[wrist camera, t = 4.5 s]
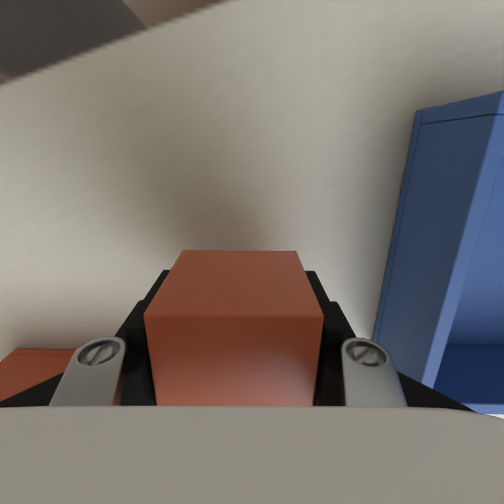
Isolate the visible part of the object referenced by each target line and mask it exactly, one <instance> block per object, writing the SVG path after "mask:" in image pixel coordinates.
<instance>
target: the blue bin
mask: <svg viewBox="0 0 504 504" xmlns="http://www.w3.org/2000/svg"><path fill="white" fill-rule="evenodd" d="M373 341H375V342H377V343H379V344H381V345H382V346H384V347H385V348H386V349H387V350H388V351H389V352H390V354H391V356H392V358H393V362H394V365H395V368H396V371H398V372H400V373H402V374H404V375H406V376H408V377H410V378H412V379H414V380H416V381H418V382H420V383H422V384H424V385H426V386H428V387H430V388H432V389H434V390H436V391H438V392H440V393H441V394H443V395H445V396H447V397H449V398H451V399H453V400H455V401H457V402H459V403H461V404H463V405H465V406H467V407H469V408H470V409H472V410H474V411H475V412H477V413H480V414H504V91H499V92H495V93H491V94H486V95H482V96H478V97H473V98H469V99H465V100H461V101H456V102H452V103H448V104H443V105H439V106H435V107H430V108H426V109H422V110H418V111H416V115H415V121H414V126H413V131H412V136H411V141H410V147H409V152H408V157H407V162H406V168H405V173H404V178H403V183H402V188H401V194H400V199H399V204H398V209H397V214H396V220H395V225H394V230H393V235H392V241H391V246H390V251H389V256H388V261H387V267H386V272H385V277H384V282H383V287H382V293H381V298H380V303H379V308H378V313H377V319H376V324H375V329H374V334H373Z"/></svg>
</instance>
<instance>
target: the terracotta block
mask: <svg viewBox="0 0 504 504" xmlns="http://www.w3.org/2000/svg"><path fill="white" fill-rule="evenodd" d="M323 320H324V315H323V313H322V310H321V308H320V306H319V303H318V301H317V299H316V296H315V294H314V292H313V289H312V287H311V285H310V282H309V280H308V278H307V275H306V273H305V271H304V268H303V266H302V264H301V261H300V259H299V257H298V254H297V252H296V251H225V250H183V251H182V252H181V254H180V256H179V257H178V259H177V261H176V262H175V264H174V265H173V267H172V269H171V270H170V272H169V274H168V275H167V277H166V279H165V280H164V282H163V283H162V285H161V287H160V288H159V290H158V292H157V293H156V295H155V296H154V298H153V300H152V301H151V303H150V305H149V306H148V308H147V310H146V311H145V313H144V322H145V329H146V336H147V342H148V349H149V356H150V363H151V369H152V376H153V383H154V390H155V397H156V403H157V406H313V401H314V393H315V385H316V377H317V368H318V360H319V352H320V344H321V336H322V328H323Z"/></svg>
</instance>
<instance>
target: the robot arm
mask: <svg viewBox="0 0 504 504" xmlns="http://www.w3.org/2000/svg"><path fill="white" fill-rule="evenodd" d="M169 272H170V270H163V271H162V273H161V274H160V276H159V277H158V279H157V280H156V282H155V283H154V285H153V286H152V288H151V289H150V291H149V292H148V294H147V295H146V297H145V298H144V300H140V301H139V302H138V303H137V304H136V306H135V307H134V309H133V310H132V311H131V313H130V314H129V316H128V317H127V319H126V320H125V322H124V323H123V324H122V326H121V327H120V329H119V330H118V332H117V333H116V335H115V336H114V337H113V336H108V337H101V338H97V339H94V340H91V341H89V342H87V343H85V344H84V345H82V346H81V347H80V348H78V349H77V350H76V351H75V353H74V354H73V355H72V357H71V359H70V362H69V364H68V366H67V368H66V370H65V372H62V373H60V374H58V375H56V376H54V377H52V378H49V379H47V380H45V381H43V382H41V383H39V384H37V385H34V386H32V387H30V388H28V389H26V390H24V391H22V392H19V393H17V394H15V395H13V396H11V397H9V398H7V399H4V400H2V401H0V504H504V419H502V418H499V417H495V416H490V415H485V414H480V413H477V412H475V411H474V410H472V409H470V408H469V407H467V406H465V405H463V404H461V403H459V402H457V401H455V400H453V399H451V398H449V397H447V396H445V395H443V394H441V393H440V392H438V391H436V390H434V389H432V388H430V387H428V386H426V385H424V384H422V383H420V382H418V381H416V380H414V379H412V378H410V377H408V376H406V375H404V374H402V373H400V372H398V371H396V368H395V365H394V362H393V358H392V356H391V354H390V352H389V351H388V350H387V349H386V348H385V347H384V346H382V345H381V344H379V343H377V342H375V341H373V340H370V339H366V338H358V337H356V335H355V334H354V332H353V330H352V328H351V326H350V324H349V323H348V321H347V319H346V317H345V315H344V313H343V312H342V310H341V308H340V306H339V304H338V303H337V302H335V301H330V300H329V299H328V297H327V295H326V293H325V291H324V289H323V287H322V285H321V283H320V281H319V279H318V277H317V275H316V273H315V271H305V273H306V275H307V278H308V280H309V282H310V285H311V287H312V289H313V292H314V294H315V296H316V299H317V301H318V303H319V306H320V308H321V310H322V313H323V315H324V320H323V328H322V336H321V344H320V352H319V360H318V368H317V377H316V385H315V393H314V401H313V406H157V403H156V397H155V390H154V383H153V376H152V369H151V363H150V356H149V349H148V342H147V336H146V329H145V322H144V313H145V311H146V310H147V308H148V306H149V305H150V303H151V301H152V300H153V298H154V296H155V295H156V293H157V292H158V290H159V288H160V287H161V285H162V283H163V282H164V280H165V279H166V277H167V275H168V274H169Z"/></svg>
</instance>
